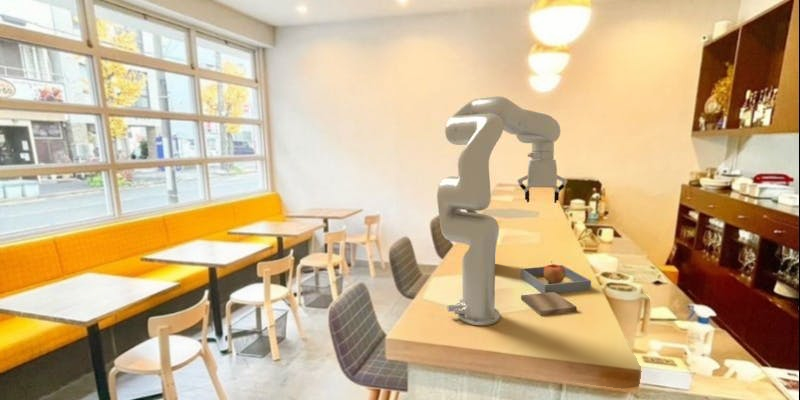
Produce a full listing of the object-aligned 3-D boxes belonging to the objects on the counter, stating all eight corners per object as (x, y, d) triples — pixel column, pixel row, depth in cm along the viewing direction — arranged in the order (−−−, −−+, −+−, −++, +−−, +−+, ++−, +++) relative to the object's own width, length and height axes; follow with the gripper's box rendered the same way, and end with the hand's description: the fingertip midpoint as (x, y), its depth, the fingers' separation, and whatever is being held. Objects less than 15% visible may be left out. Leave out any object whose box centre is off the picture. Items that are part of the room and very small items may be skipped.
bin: (544, 295, 129) (545, 285, 128) (520, 277, 146) (520, 268, 145) (590, 290, 132) (591, 280, 131) (561, 273, 149) (561, 264, 148)
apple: (554, 289, 134) (554, 267, 133) (538, 282, 141) (539, 261, 139) (569, 285, 137) (570, 263, 136) (553, 278, 144) (554, 258, 142)
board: (540, 315, 114) (540, 311, 114) (521, 299, 126) (521, 295, 126) (576, 311, 116) (576, 306, 116) (554, 296, 128) (554, 291, 128)
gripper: (517, 157, 139) (516, 203, 142) (568, 156, 133) (567, 204, 136) (518, 156, 146) (518, 199, 149) (567, 155, 140) (566, 201, 142)
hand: (541, 202), depth 142 cm, fingers open, 9 cm apart
